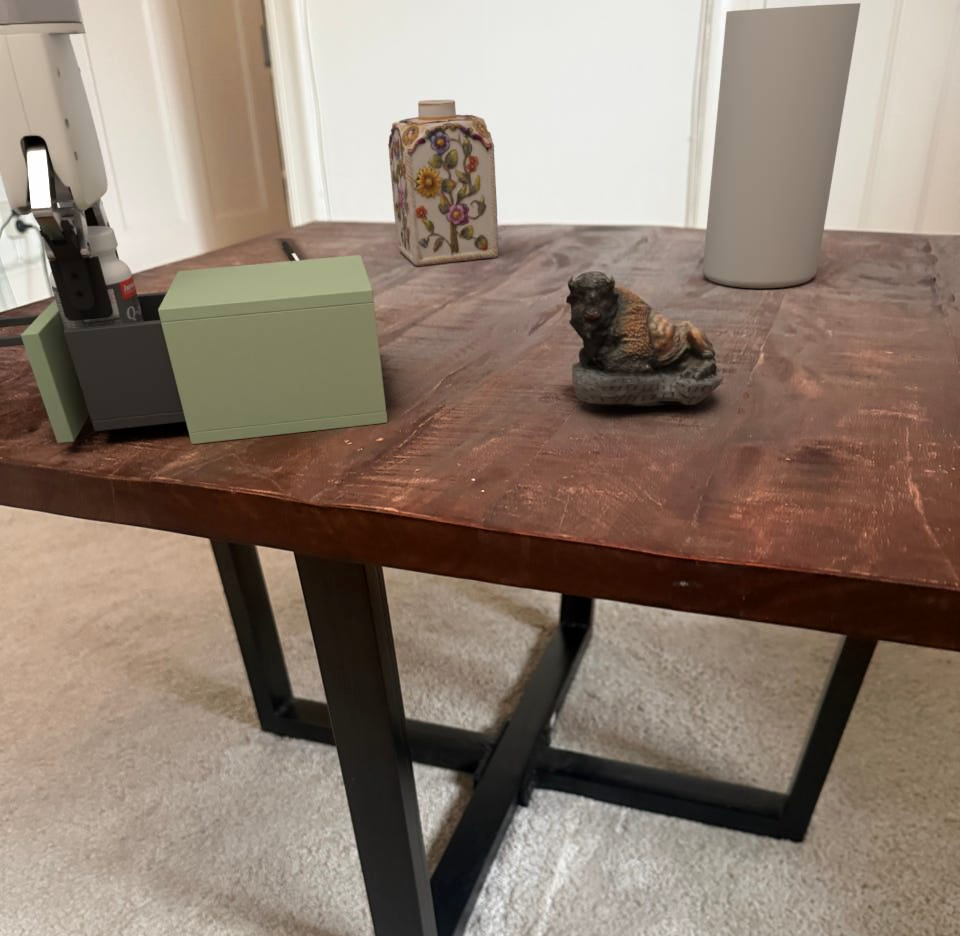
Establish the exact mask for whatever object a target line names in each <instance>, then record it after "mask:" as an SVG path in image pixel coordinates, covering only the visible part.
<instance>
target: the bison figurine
mask: <svg viewBox="0 0 960 936" xmlns="http://www.w3.org/2000/svg"><path fill="white" fill-rule="evenodd" d="M567 286H568V290H569V294H568V295H567V296H566V300H565V303H566V304H569V305H570V319H569V321H568V323H569V325H570V326H571V327H572V328H573V330H574V331H575V332H576V334H577V335H578V336H579V338H581V341H582V346H583V347H581V348H580V350H579V352H578V360H579V362H574V363H573V364H572V365H571V381H572V385H573V390H574V394H575V396H576V398H577V399H578V400H579V401H581V402H584V403H586V404H591V405H596V406H614V407H615V406H616V407H617V406H618V407H637V408H638V407H641V408H642V407H663V406H665V407H666V406H667V407H668V406H695V405H697V404H698V403H700V402H702V401H703V400H704V399H706V398H707V397H708V396H709V395H711V394H712V393H713V392H715V390H716V389H717V388H718V387H719V386H720V385H721V384H722V382H723V380H724V376H723V374H722V373H721V372H719V371H718V370H717V369H718V366H717V364H716V362H717V361H716V358H715V355H716V351H715V349H714V347H713V342H712V341H711V340H709V337H708V335H707V334H706V332H705V330H703V329H701V328H699V327H697V326H695V325H694V324H693V322H691V321H689V320H683V321H676V320H675V321H674V320H671V319H670V318H668V317H667V316H666V315H665V314H662V313H661V312H660V311H658V310H656V309H654V308H653V307H652V306H651V305H649V304H648V303H647V302H646V301H645V300H644V299H642V298H641V297H640V296H638V295H637V294H636V293H634V292H632V291H631V290H629V289H626V288H623V287H622V286H619V285H616V280H615V277H614V276H613V274H611V275H610V278H609V277H608V276H607V275H606V274H605V273H604V272H602V271H595V270H591V271H585V272H582V273H581V274H579V275H578V276H577V277H575V278H574V275H570V276H569V278H568V279H567Z"/></svg>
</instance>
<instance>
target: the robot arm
mask: <svg viewBox="0 0 960 936" xmlns="http://www.w3.org/2000/svg"><path fill="white" fill-rule="evenodd" d="M82 34H86V29H85V24H84V20H83V16H82V13H81V8H80V5H79V0H0V177H1V180H2V184H3V188H4V192H5V195H6V198H7V201H8V204H9V207H10V208H11V209H12V210H13V211H14V212H15V213H17V214H18V215H20V216H27V215H30V214H31V213H32V215H33V218H34V220H35V221H36V223H37V225H38V226H39V234H40V236H41V238H42V242H43V246H44V251H45V254H46V258H47V260H48V264H49V267H50V270H51V271H52V274H53V278H54V281H55V284H56V288H57V291H58V294H59V298H60V301H61V304H62V307H63V311H64V314H65V317H66V318H67V319H68V320H70V321H75V320H87V319H99V318H109V317H110V316H111V315H112V313H113V309H112V305H111V301H110V298H109V294H108V290H107V287H106V283H105V279H104V275H103V272H102V268H101V264H100V261H99V257H98V256H93V255H92V249H91V243H90V238H89V233H88V228H87V226H106V227H111V226H110V222H109V219H108V216H107V213H106V211H105V207H104V203H103V201H102V197H103V196H105V194H106V193H107V191H108V186H109V185H108V177H107V171H106V167H105V161H104V157H103V154H102V150H101V149H102V148H101V145H100V141H99V137H98V132H97V129H96V125H95V120H94V118H93V114H92V109H91V105H90V103H89V98H88V96H87V92H86V88H85V84H84V81H83V77H82V74H81V72H82V71H81V68H80V66H79V63H78V60H77V57H76V54H75V50H74V47H73V43H72V40H71V36H70V35H82ZM58 205H59V206H58ZM74 228H75V229H76V233H75V231H74V230H73V229H74ZM76 234H77V235H76ZM115 252H116V256H117V258H118V259H119V260H120V257H119V253H118V249H116V250H115ZM51 271H50V272H51Z"/></svg>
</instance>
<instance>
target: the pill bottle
mask: <svg viewBox="0 0 960 936" xmlns="http://www.w3.org/2000/svg"><path fill="white" fill-rule="evenodd" d="M87 228H88V233H89V238H90V243H91V249H92V255H93V256H98V257H99V261H100V264H101V268H102V272H103V275H104V279H105V283H106V287H107V290H108V294H109V298H110V301H111V305H112V309H113V313H112V315H111V316H110V317H109V318H99V319H87V320H75V321H70V320H68V319H67V318H66V317H65V314H64V311H63V307H62V304H61V301H60V298H59V294H58V291H57V288H56V284H55V281H54V278H53V274H52V271H50V273H49V283H50V286H51V291H52V293H53V297H54V300H56V303H57V307H58V310H59V313H60V316H61V320H62V323H63V326H64V330H66V329H70V328H81V327H92V326H102V325H113V324H123V323H134V322H144V320H143V316H142V312H141V308H140V304H139V300H138V296H137V294H138V293H137V288H136V285H135V279H134V277H133V273H132V271H131V269H130V267H129V266H128V264H127V263H126V262H125V261H123V260H121V259H120V258H119V259H118V258H117V256H116V252H115V250H116V249H117V248H118V245H119V243H118V241H117V237H116V234H115V230H114V229H113V227H111V226H110V227H106V226H87ZM73 230H74V231H75V233H76V229H75V228H74V229H73ZM76 235H77V234H76ZM117 250H118V249H117Z"/></svg>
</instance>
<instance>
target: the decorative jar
mask: <svg viewBox="0 0 960 936" xmlns="http://www.w3.org/2000/svg"><path fill="white" fill-rule="evenodd" d="M417 109H418V110H417V113H418V115H417V117H416V116H415V117H410V118H405V119H401V120H399V121H396V122H395V121H394V122H393V123H392V125H391V128H390V135H389V137H388V144H387V146H388V157H389V170H390V180H391V181H390V182H391V191H392V203H393V215H394V222H395V224H394V225H395V231H396V232H395V233H396V240H397V241H396V243H397V247H398V251H399V252H400V253H401V254H402V256H404V257H405V258H406V259H407V260H409V261H410V262H411V263H412V264H413V265H414V266H415V267H422V266H423V267H424V266H432V265H441V264H449V263H458V262H459V263H460V262H467V261H476V260H485V259H494V258H495V259H496V258H498V256H499V227H498V226H499V225H498V201H497V200H498V199H497V183H496V163H495V162H496V161H495V159H496V158H495V144H494V141H493V138H492V135H491V132H490V131H489V129H488V127H487V124H486V122H485V119H484V118H482V117H480V116H477V115H473V114H457V112H456V101H455V100H454V99H425V100H419V101H418V103H417Z"/></svg>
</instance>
